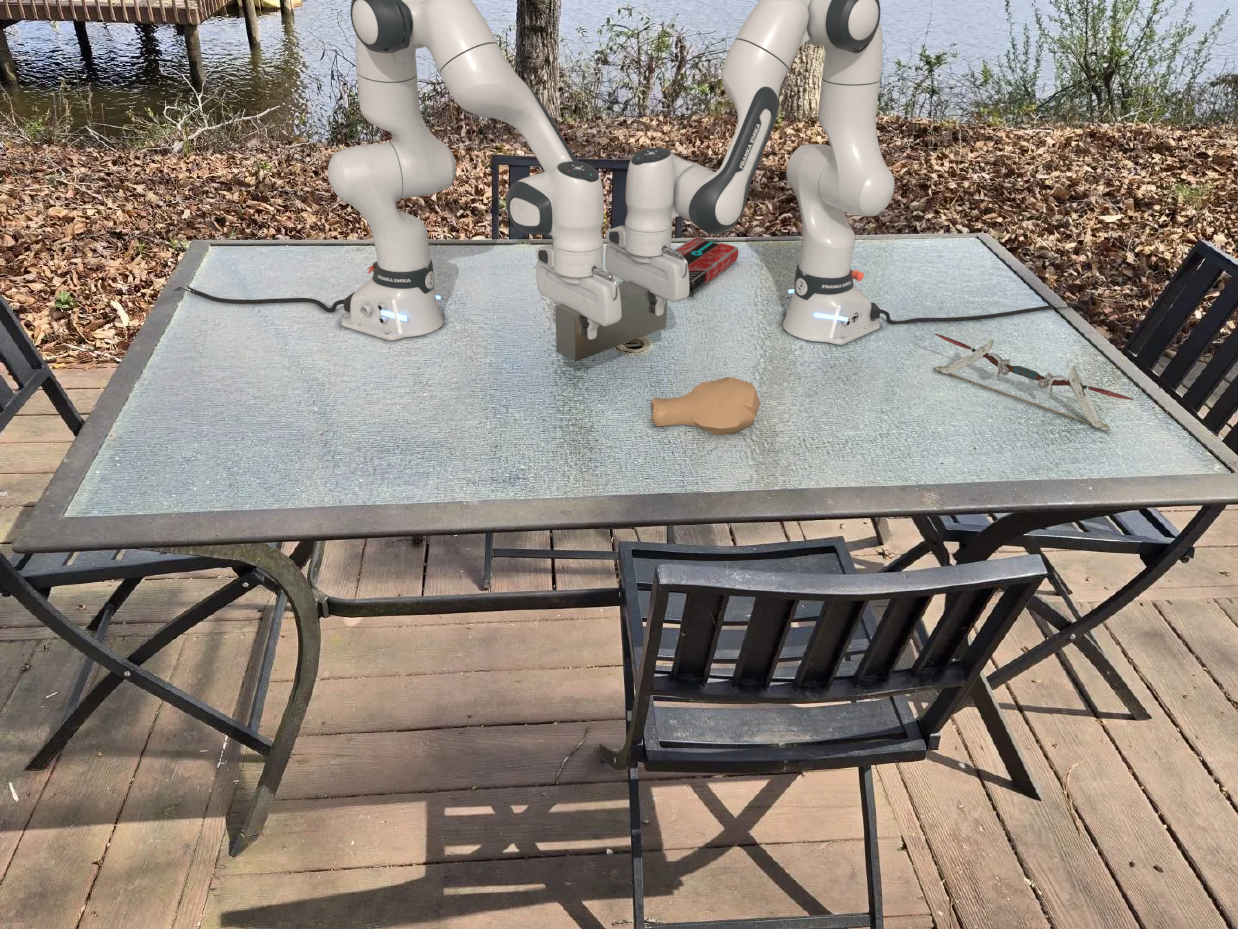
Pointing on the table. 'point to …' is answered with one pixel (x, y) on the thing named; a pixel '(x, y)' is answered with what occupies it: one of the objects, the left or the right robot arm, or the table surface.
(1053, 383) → the bow
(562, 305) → the bar
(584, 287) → the left robot arm
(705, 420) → the squash
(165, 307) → the table surface
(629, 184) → the right robot arm
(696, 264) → the gun
